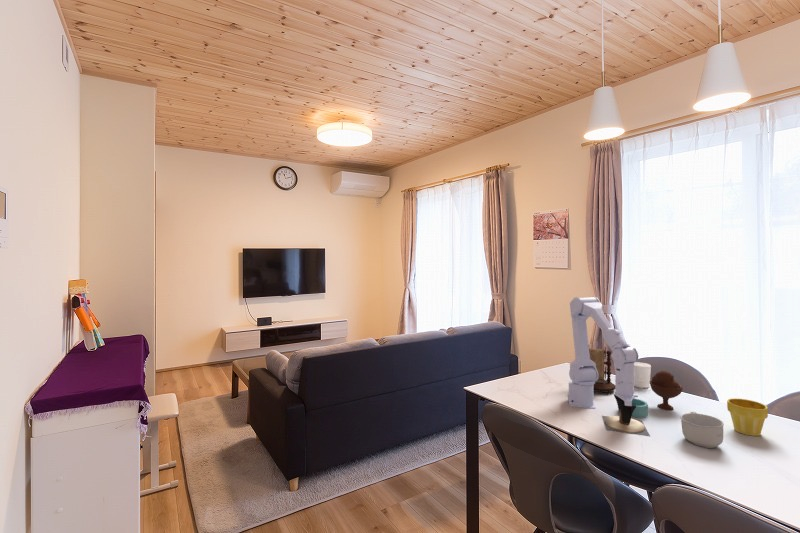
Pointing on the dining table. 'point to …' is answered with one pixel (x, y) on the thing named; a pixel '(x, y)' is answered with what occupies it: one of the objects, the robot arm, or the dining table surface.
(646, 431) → the mat
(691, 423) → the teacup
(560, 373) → the dining table surface
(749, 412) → the plant pot
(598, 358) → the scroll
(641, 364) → the white cup
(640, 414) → the bowl
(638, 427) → the lid
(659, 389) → the ice cream bowl
